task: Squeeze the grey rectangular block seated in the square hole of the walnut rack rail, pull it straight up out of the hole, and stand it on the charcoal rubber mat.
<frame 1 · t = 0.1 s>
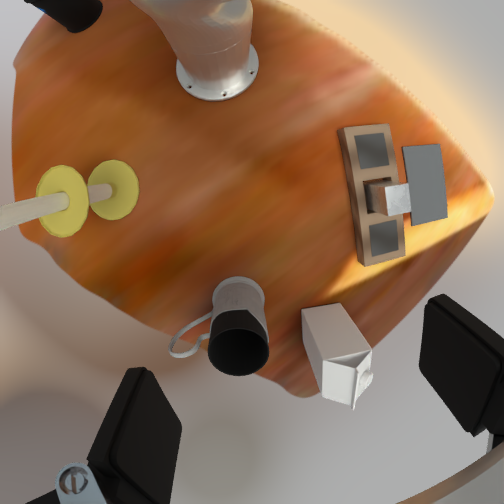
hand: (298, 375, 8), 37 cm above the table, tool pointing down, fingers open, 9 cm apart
milk carton: (320, 321, 50), on the table
candle: (112, 189, 42), on the table
aerosol can: (84, 16, 31), on the table
rack rail: (371, 193, 43), on the table
grey rectangular block: (383, 196, 39), in the rack rail
glass holder: (222, 303, 48), on the table
mat: (426, 183, 43), on the table
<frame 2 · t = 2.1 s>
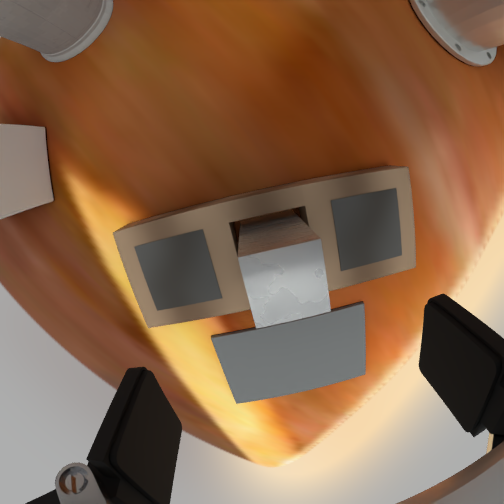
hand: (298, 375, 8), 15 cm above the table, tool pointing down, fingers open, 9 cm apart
milk carton: (26, 173, 20), on the table
rack rail: (271, 239, 22), on the table
grey rectangular block: (277, 257, 18), in the rack rail
glass holder: (75, 6, 15), on the table
mat: (295, 358, 26), on the table
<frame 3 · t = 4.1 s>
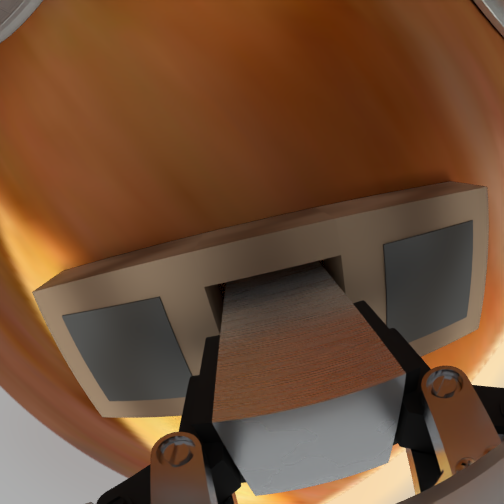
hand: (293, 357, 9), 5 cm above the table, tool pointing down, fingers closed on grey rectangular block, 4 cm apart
rack rail: (277, 298, 14), on the table
grey rectangular block: (292, 351, 10), in the rack rail, touching gripper
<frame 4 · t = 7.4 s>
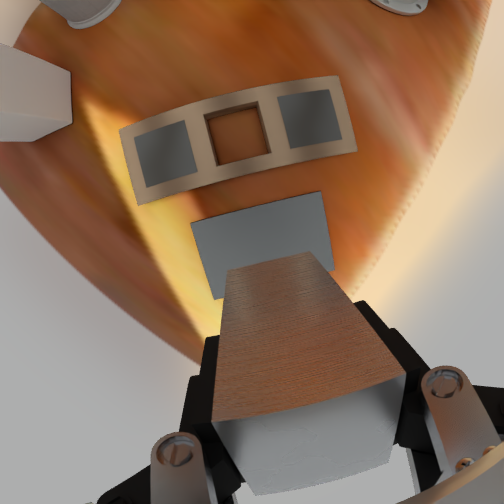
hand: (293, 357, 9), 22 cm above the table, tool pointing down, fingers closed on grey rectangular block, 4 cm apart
milk carton: (51, 107, 25), on the table
rack rail: (237, 136, 27), on the table
grey rectangular block: (292, 351, 10), point 22 cm above the table, touching gripper
mat: (265, 246, 31), on the table
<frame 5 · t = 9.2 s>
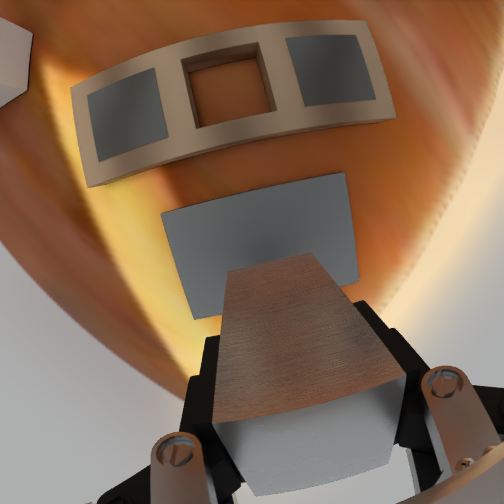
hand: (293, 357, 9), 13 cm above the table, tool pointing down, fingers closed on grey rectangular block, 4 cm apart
milk carton: (9, 75, 16), on the table
rack rail: (229, 93, 18), on the table
grey rectangular block: (292, 352, 10), point 13 cm above the table, touching gripper
mat: (265, 248, 22), on the table
when the fingers open (7 cm above the table, at t = 10.7 s): grey rectangular block drops 1 cm, resting on mat.
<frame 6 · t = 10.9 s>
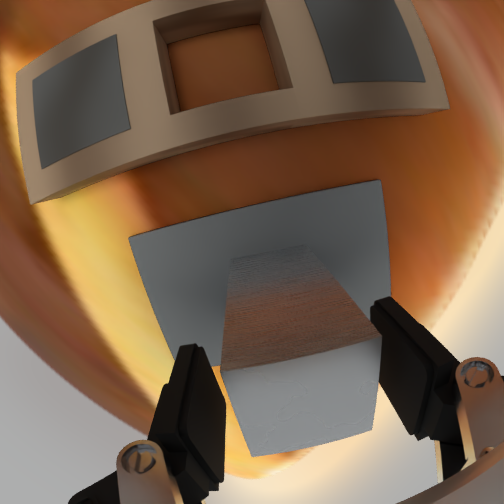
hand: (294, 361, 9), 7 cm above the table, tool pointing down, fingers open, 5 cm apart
rack rail: (222, 69, 13), on the table
grey rectangular block: (287, 329, 11), on the mat
mat: (272, 283, 16), on the table
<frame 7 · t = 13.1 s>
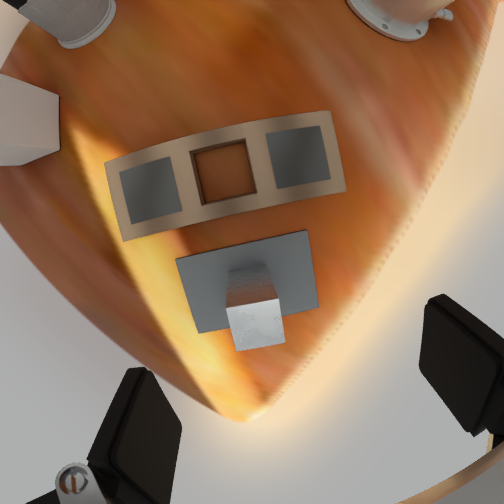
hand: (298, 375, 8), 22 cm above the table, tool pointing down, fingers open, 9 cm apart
milk carton: (39, 130, 25), on the table
rack rail: (224, 172, 28), on the table
grey rectangular block: (253, 302, 26), on the mat
glass holder: (86, 7, 21), on the table
mat: (249, 284, 31), on the table
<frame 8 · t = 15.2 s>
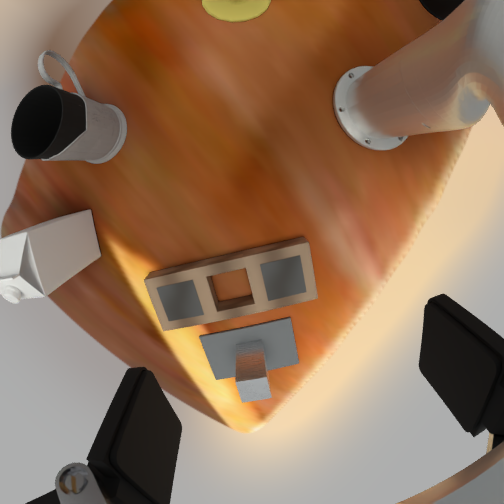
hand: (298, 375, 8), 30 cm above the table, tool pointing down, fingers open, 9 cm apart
milk carton: (78, 236, 37), on the table
aerosol can: (433, 3, 27), on the table
rack rail: (231, 281, 40), on the table
grey rectangular block: (252, 369, 38), on the mat
glass holder: (97, 116, 33), on the table
mat: (250, 350, 43), on the table
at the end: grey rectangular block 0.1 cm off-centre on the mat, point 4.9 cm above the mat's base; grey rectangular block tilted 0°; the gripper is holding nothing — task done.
